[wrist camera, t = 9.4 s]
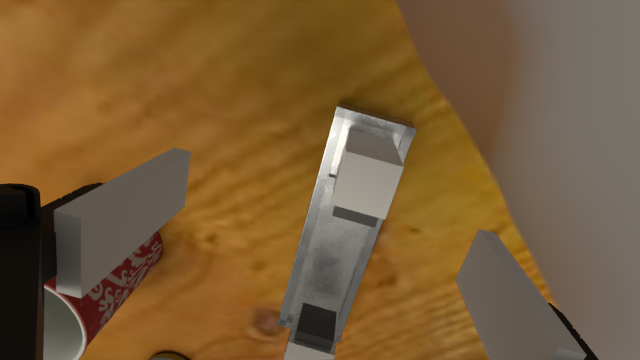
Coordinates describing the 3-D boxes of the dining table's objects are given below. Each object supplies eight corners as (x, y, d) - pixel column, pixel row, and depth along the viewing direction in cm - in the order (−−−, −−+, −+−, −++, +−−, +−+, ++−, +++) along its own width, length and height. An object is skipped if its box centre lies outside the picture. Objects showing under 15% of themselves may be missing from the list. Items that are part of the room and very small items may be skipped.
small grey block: (349, 128, 31) (345, 150, 24) (393, 140, 31) (403, 167, 23) (334, 180, 33) (326, 216, 25) (376, 191, 33) (380, 232, 25)
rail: (338, 102, 33) (329, 121, 23) (411, 122, 33) (434, 151, 23) (282, 305, 41) (258, 384, 31) (340, 322, 41) (334, 406, 31)
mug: (186, 260, 41) (107, 353, 28) (126, 286, 43) (27, 382, 30) (122, 164, 37) (0, 219, 25) (60, 196, 40) (-81, 262, 27)
